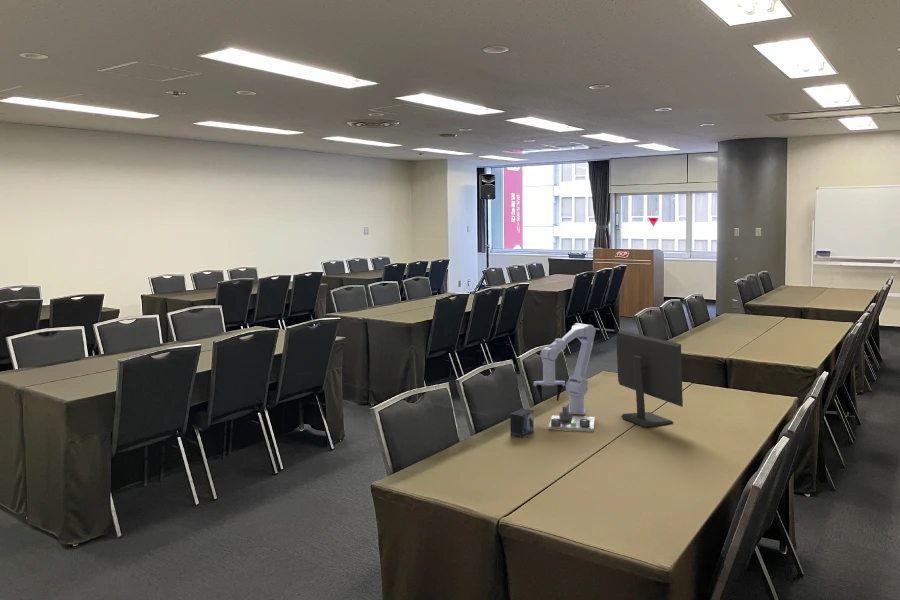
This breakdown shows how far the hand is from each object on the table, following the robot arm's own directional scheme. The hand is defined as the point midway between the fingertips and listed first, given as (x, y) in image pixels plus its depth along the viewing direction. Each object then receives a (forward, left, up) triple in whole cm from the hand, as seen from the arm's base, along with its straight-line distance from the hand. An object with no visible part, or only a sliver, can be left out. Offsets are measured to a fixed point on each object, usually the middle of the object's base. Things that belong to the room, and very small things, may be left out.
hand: (549, 400), depth 321 cm
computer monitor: (-4, +45, -10) cm, 46 cm away
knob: (+3, +8, -8) cm, 11 cm away
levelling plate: (+7, +11, -9) cm, 16 cm away
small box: (+24, -10, -10) cm, 28 cm away
